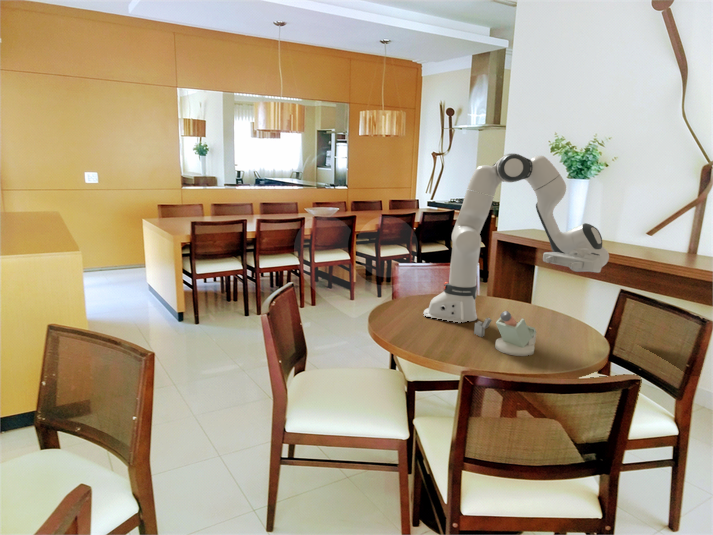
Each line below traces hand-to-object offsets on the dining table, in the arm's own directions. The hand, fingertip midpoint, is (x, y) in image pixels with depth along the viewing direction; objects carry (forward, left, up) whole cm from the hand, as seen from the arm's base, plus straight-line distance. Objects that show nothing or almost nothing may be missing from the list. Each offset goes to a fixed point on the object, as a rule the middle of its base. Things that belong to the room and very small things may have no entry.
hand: (559, 262), depth 174 cm
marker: (-12, -14, -24) cm, 30 cm away
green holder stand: (-13, -15, -29) cm, 35 cm away
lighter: (-25, -6, -29) cm, 39 cm away
